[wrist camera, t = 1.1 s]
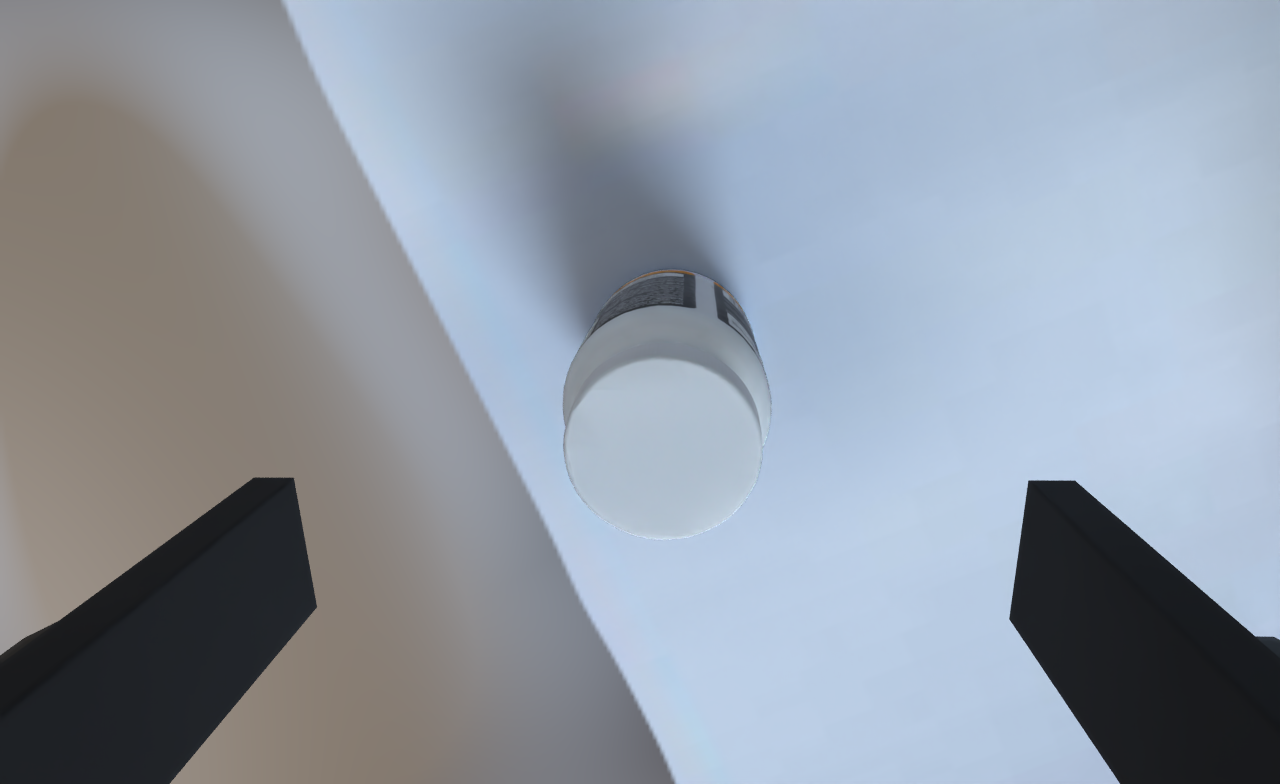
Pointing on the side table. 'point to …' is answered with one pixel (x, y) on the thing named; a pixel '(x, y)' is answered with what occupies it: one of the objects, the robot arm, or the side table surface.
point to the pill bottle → (666, 408)
